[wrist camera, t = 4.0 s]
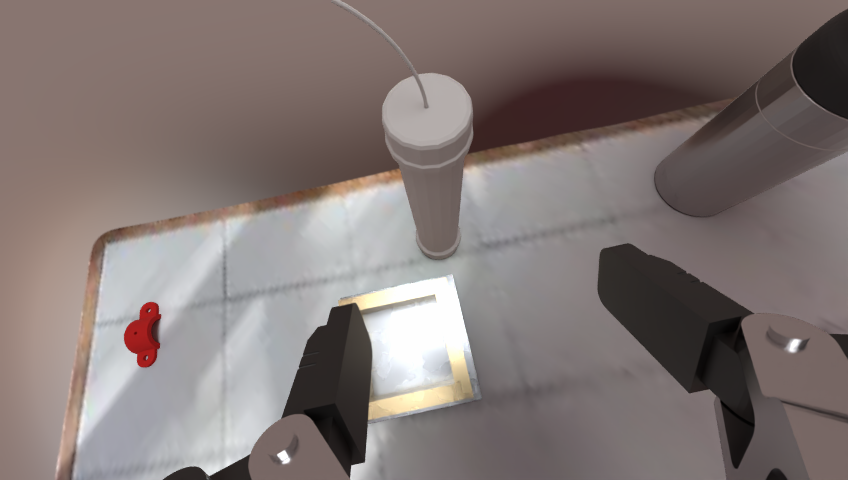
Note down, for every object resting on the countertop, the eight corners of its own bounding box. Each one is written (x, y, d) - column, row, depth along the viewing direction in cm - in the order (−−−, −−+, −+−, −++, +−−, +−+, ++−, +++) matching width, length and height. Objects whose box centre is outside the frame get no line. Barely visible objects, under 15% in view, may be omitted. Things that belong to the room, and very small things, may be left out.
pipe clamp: (142, 305, 41) (126, 303, 39) (163, 300, 41) (148, 298, 39) (138, 369, 38) (121, 371, 36) (161, 363, 38) (145, 365, 36)
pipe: (457, 263, 39) (482, 58, 11) (408, 257, 40) (312, 49, 12) (462, 223, 41) (495, -48, 12) (415, 218, 42) (345, -50, 13)
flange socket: (452, 275, 39) (452, 266, 34) (481, 397, 34) (486, 406, 30) (342, 299, 39) (328, 293, 34) (357, 424, 34) (343, 437, 30)
